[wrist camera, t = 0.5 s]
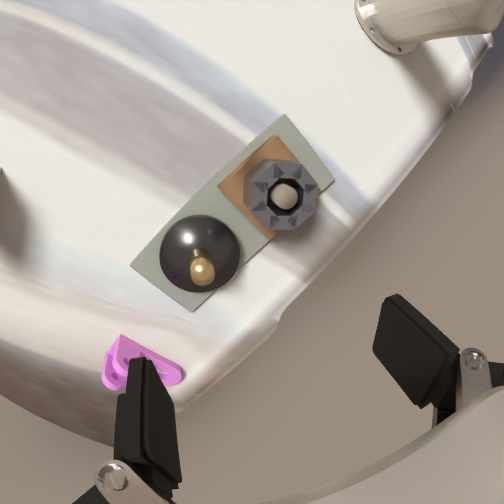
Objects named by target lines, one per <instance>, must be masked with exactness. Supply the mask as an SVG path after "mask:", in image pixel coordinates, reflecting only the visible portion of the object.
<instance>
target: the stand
mask: <svg viewBox="0 0 504 504" xmlns="http://www.w3.org/2000/svg"><path fill="white" fill-rule="evenodd" d="M262 159H281V160H290V161H294V162H297V163H300V162H299V161H298V160H297V158H296V157H295V156H294V155H293V153H292V152H291V151H290V150H289V148H288V147H287V146H286V145H285V144H284V142H283V141H282V140H281V139H280V138H279V136H276V135H272V136H271V137H270V138H269V139H268V140H267V141H265V142H264V143H263V144H262V145H261V146H260V147H259V148H257V149H256V150H255V151H254V152H253V153H252V154H251V155H250V156H249V157H247V158H246V159H245V160H244V161H243V162H242V163H241V164H240V165H239V166H238V167H237V168H235V169H234V170H233V171H232V172H231V173H230V174H229V175H228V176H227V177H226V178H225V179H224V180H223V181H222V182H221V183H220V184H218V185H217V187H218V188H219V190H220V191H221V192H222V193H223V194H224V195H225V196H226V197H227V198H228V199H229V200H230V201H231V202H232V203H233V204H234V205H235V206H236V207H237V208H238V209H239V210H240V211H241V212H242V213H243V214H244V215H245V216H246V217H247V218H248V219H249V220H250V221H251V222H252V223H253V224H254V225H255V226H256V227H257V228H258V229H259V230H260V231H261V232H262V233H263V234H264V235H265V236H266V237H267V238H268V239H269V240H271V239H272V238H273V237H274V236H275V235H276V234H277V233H278V232H279V231H280V230H268V229H267V227H266V226H265V225H264V224H263V223H262V222H261V221H260V220H259V219H258V218H257V217H256V216H255V215H254V214H253V213H252V212H251V211H250V210H249V208H248V207H247V206H246V205H245V204H244V203H243V188H244V176H245V175H246V174H247V173H248V172H249V171H250V170H251V169H252V168H254V167H255V166H256V165H257V164H258V163H259V162H260V161H261V160H262ZM321 192H322V191H321V189H320V188H319V187H318V192H317V196H318V195H319V194H320V193H321ZM297 198H298V196H297V192H296V191H295V189H293V188H292V187H290V182H289V181H288V180H287V179H286V178H279V179H278V180H277V181H276V182H275V183H274V184H273V185H272V186H270V187H269V188H268V193H267V206H279V207H280V208H282V209H290V208H292V207H293V206H294V205H295V204H296V202H297Z"/></svg>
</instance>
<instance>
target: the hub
mask: <svg viewBox="0 0 504 504" xmlns="http://www.w3.org/2000/svg"><path fill="white" fill-rule="evenodd" d="M159 260H160V266H161V269H162V271H163V273H164V275H165V276H166V278H167V279H168V280H169V281H170V282H171V283H172V284H173V285H175V286H176V287H178V288H180V289H182V290H185V291H188V292H194V293H203V292H209V291H212V290H215V289H217V288H219V287H221V286H223V285H224V284H225V283H227V282H228V281H229V280H230V279H231V278H232V276H233V275H234V274H235V272H236V270H237V268H238V265H239V261H240V248H239V244H238V241H237V239H236V237H235V235H234V233H233V232H232V230H231V229H230V228H229V227H228V225H226V224H225V223H224V222H223V221H221V220H219V219H217V218H215V217H212V216H208V215H192V216H188V217H185V218H182V219H181V220H179V221H177V222H176V223H174V224H173V225H172V226H171V227H170V228H169V229H168V230H167V232H166V233H165V235H164V237H163V239H162V242H161V246H160V253H159Z"/></svg>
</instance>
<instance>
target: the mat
mask: <svg viewBox="0 0 504 504" xmlns="http://www.w3.org/2000/svg"><path fill="white" fill-rule="evenodd" d="M272 135H276V136H279V138H280V139H281V140H282V141H283V142H284V144H285V145H286V146H287V147H288V148H289V150H290V151H291V152H292V153H293V155H294V156H295V157H296V158H297V160H298V161H299V162H300V163H301V164H303V166H304V167H305V168H306V169H307V171H308V172H309V173H310V175H311V176H312V177H313V178H314V180H315V181H316V182H317V184H318V187H319V188H320V189H321V191H323V190H324V189H325V188H326V187H327V186H328V185H329V184H330V183H331V182H332V181H334V180H335V179H334V177H333V176H332V174H331V173H330V172H329V170H328V169H327V167H326V166H325V165H324V163H323V162H322V161H321V159H320V158H319V156H318V155H317V154H316V152H315V151H314V150H313V148H312V147H311V146H310V145H309V143H308V142H307V141H306V139H305V138H304V137H303V136H302V134H301V133H300V132H299V130H298V129H297V128H296V127H295V126H294V124H293V123H292V122H291V121H290V119H289V118H288V117H287V116H286V115H285V114H283V115H282V116H281V117H280V118H278V119H277V120H276V121H275V122H274V123H272V124H271V125H270V126H269V127H268V128H267V129H265V130H264V131H263V132H262V133H261V134H260V135H258V136H257V137H256V138H255V139H254V140H253V141H252V142H251V143H249V144H248V145H247V146H246V147H245V148H244V149H243V150H242V151H240V152H239V153H238V154H237V155H236V156H235V157H234V158H233V159H232V160H231V161H230V162H228V163H227V164H226V165H225V166H224V167H223V168H222V169H221V170H220V171H219V172H218V173H217V174H216V175H215V176H214V177H213V178H212V179H210V180H209V181H208V182H207V183H206V184H205V185H204V186H203V187H202V188H201V189H200V190H199V191H198V192H197V193H196V194H195V195H194V196H193V197H192V198H191V199H190V200H189V201H188V202H187V203H186V204H185V205H184V206H183V207H182V208H181V209H180V210H179V211H178V212H177V213H176V215H175V216H174V217H173V218H172V219H171V220H170V221H169V222H168V223H167V224H166V225H165V226H164V227H163V228H162V229H161V230H160V231H159V233H158V234H157V235H156V236H155V237H154V238H153V239H152V240H151V241H150V242H149V243H148V245H147V246H146V247H145V248H144V249H143V250H142V251H141V252H140V253H139V255H138V256H137V257H136V258H135V259H134V260H133V261H132V263H131V264H130V267H132V268H133V269H134V270H135V271H137V272H138V273H139V274H140V275H142V276H143V277H144V278H145V279H147V280H148V281H149V282H151V283H152V284H153V285H155V286H156V287H157V288H158V289H160V290H161V291H162V292H164V293H165V294H166V295H168V296H169V297H170V298H172V299H173V300H174V301H176V302H177V303H179V304H180V305H181V306H183V307H184V308H185V309H187V310H188V311H190V312H191V313H192V312H193V311H194V310H195V309H196V308H197V307H198V306H199V305H200V304H201V303H202V302H203V301H205V300H206V299H207V298H208V297H209V296H210V295H211V294H212V293H213V292H214V291H215V290H216V289H215V290H212V291H209V292H203V293H194V292H188V291H185V290H182V289H180V288H178V287H176V286H175V285H173V284H172V283H171V282H170V281H169V280H168V279H167V278H166V276H165V275H164V273H163V271H162V269H161V266H160V260H159V253H160V246H161V242H162V239H163V237H164V235H165V233H166V232H167V230H168V229H169V228H170V227H171V226H172V225H173V224H174V223H176V222H177V221H179V220H181V219H182V218H185V217H188V216H192V215H208V216H212V217H215V218H217V219H219V220H221V221H223V222H224V223H225V224H226V225H228V227H229V228H230V229H231V230H232V232H233V233H234V235H235V237H236V239H237V241H238V244H239V248H240V261H239V265H238V268H237V270H238V269H239V268H240V267H241V266H242V265H243V264H244V263H246V262H247V261H248V260H249V259H250V258H251V257H252V256H253V255H254V254H255V253H256V252H257V251H258V250H260V249H261V248H262V247H263V246H264V245H265V244H266V243H267V242H268V241H269V239H268V238H267V237H266V236H265V235H264V234H263V233H262V232H261V231H260V230H259V229H258V228H257V227H256V226H255V225H254V224H253V223H252V222H251V221H250V220H249V219H248V218H247V217H246V216H245V215H244V214H243V213H242V212H241V211H240V210H239V209H238V208H237V207H236V206H235V205H234V204H233V203H232V202H231V201H230V200H229V199H228V198H227V197H226V196H225V195H224V194H223V193H222V192H221V191H220V190H219V188H218V187H217V185H218V184H220V183H221V182H222V181H223V180H224V179H225V178H226V177H227V176H228V175H229V174H230V173H231V172H232V171H233V170H234V169H235V168H237V167H238V166H239V165H240V164H241V163H242V162H243V161H244V160H245V159H246V158H247V157H249V156H250V155H251V154H252V153H253V152H254V151H255V150H256V149H257V148H259V147H260V146H261V145H262V144H263V143H264V142H265V141H267V140H268V139H269V138H270V137H271V136H272ZM237 270H236V271H237Z"/></svg>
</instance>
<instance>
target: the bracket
mask: <svg viewBox="0 0 504 504" xmlns="http://www.w3.org/2000/svg"><path fill="white" fill-rule="evenodd" d="M138 357H146V359H147V360H152V362H153V364H154V366H155V367H156V368H158V369H160V370H162V371H164V372H166V373H168V374H167V375H165V374H162V373H160V372H158V374H159V376H160V378H161V380H162V382H163V384H164V386H173V385H176V384H177V383H179V382H180V380H181V378H182V375H181V368H180V367H179V366H178V365H177V364H176V363H174V362H172V361H170V360H168V359H166V358H164V357H162V356H160V355H159V354H157V353H155V352H153V351H151V350H149V349H147V348H145V347H144V346H142V345H140V344H138V343H136V342H135V341H133V340H131V339H129V338H128V337H126V336H124V335H122V334H120V335H119V337H118V338H117V339H116V340H115V342H114V343H113V344H112V346H111V347H110V348H109V350H108V351H107V352H106V355H105V360H104V364H103V369H102V374H101V378H102V381H103V383H104V384H105V386H106V387H108V388H109V389H111V390H115V391H117V390H120V389H121V388H122V387H123V386H124V385H125V383H126V377H127V376H128V367H129V360H130V359H131V358H138Z"/></svg>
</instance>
